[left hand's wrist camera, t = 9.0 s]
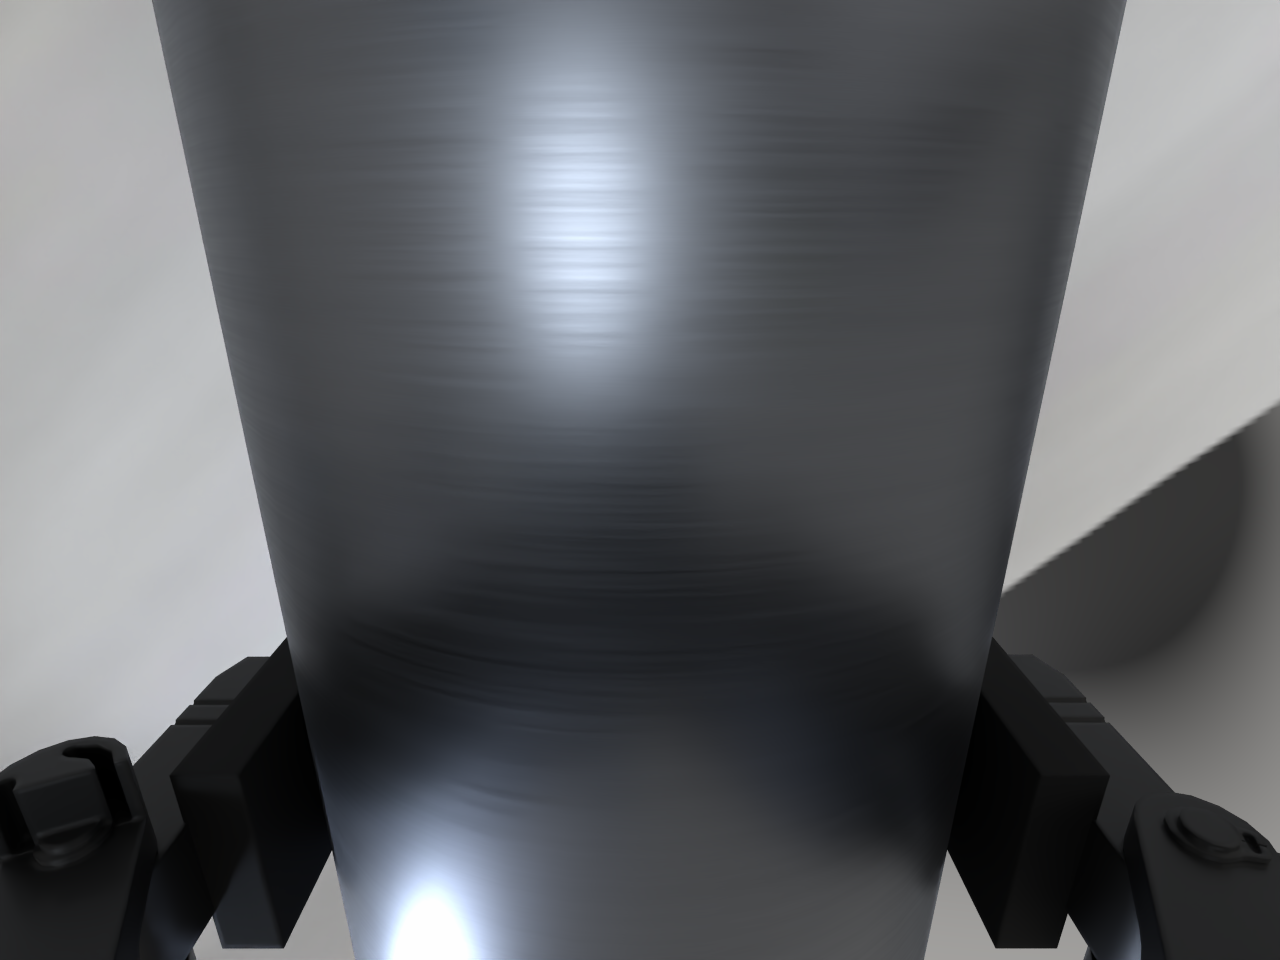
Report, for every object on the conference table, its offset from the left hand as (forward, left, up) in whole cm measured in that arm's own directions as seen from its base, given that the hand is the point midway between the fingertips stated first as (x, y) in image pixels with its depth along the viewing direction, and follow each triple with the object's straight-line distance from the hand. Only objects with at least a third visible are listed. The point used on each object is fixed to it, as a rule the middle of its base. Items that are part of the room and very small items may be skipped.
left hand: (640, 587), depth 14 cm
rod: (+10, 0, -1) cm, 10 cm away
